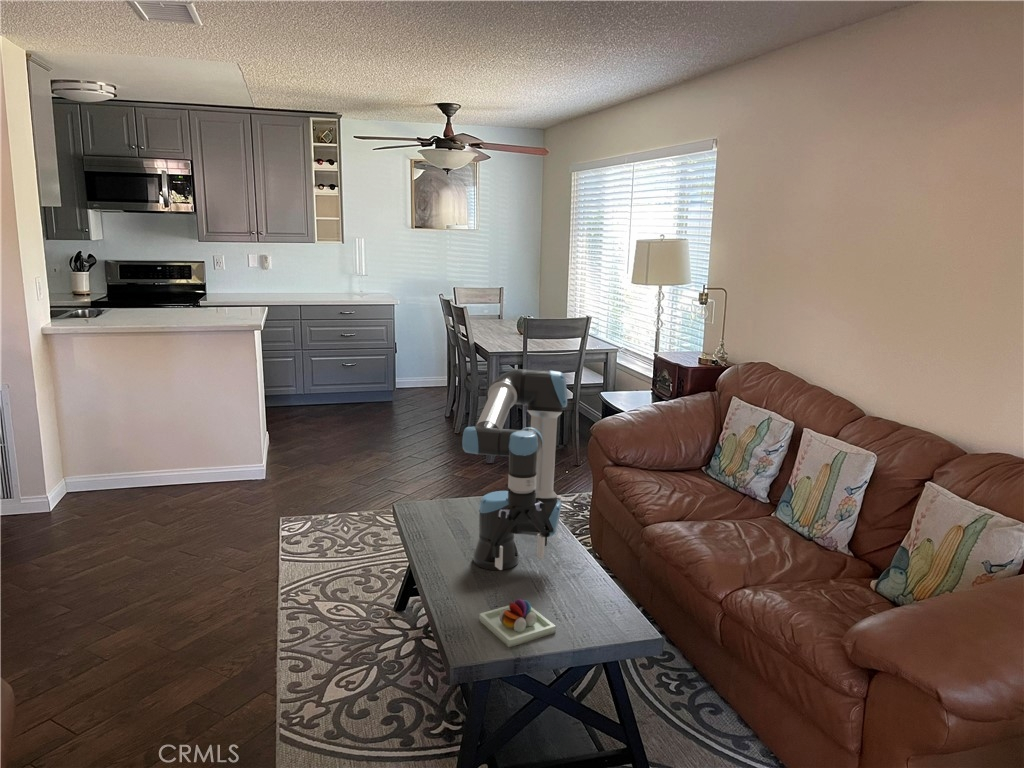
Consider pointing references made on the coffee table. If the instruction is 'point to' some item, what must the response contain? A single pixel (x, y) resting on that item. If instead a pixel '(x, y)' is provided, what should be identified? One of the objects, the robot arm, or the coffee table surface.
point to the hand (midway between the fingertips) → (519, 562)
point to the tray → (509, 634)
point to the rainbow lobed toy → (518, 615)
